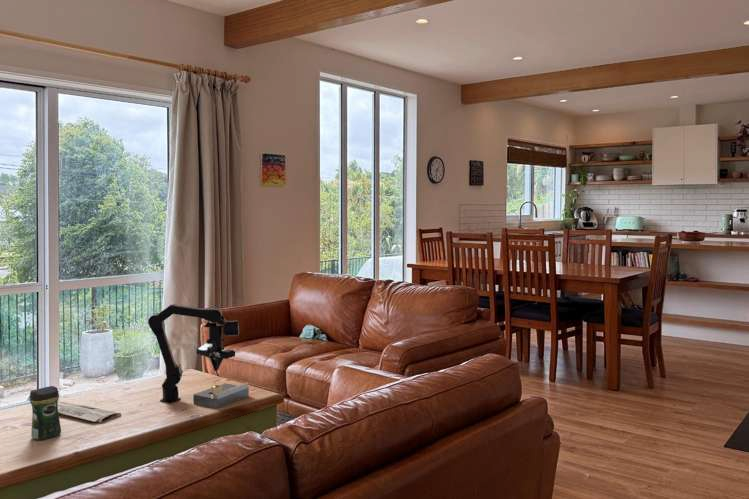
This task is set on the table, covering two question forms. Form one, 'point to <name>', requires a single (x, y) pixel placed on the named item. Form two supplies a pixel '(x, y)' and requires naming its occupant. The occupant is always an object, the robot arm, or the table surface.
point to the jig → (222, 395)
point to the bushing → (216, 389)
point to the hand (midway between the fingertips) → (216, 370)
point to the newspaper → (85, 412)
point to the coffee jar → (45, 413)
